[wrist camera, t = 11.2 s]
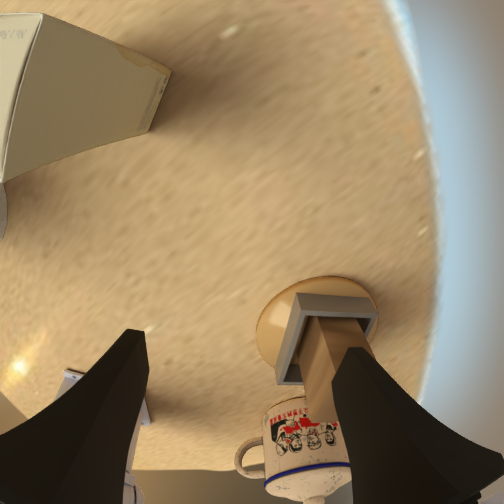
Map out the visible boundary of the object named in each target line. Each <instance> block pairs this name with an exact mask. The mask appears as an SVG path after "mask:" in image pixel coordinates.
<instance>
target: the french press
mask: <svg viewBox="0 0 504 504" xmlns="http://www.w3.org/2000/svg"><path fill="white" fill-rule="evenodd" d="M6 224H7V197H6V193H5V189H4V185H3V183H0V241H1V240H2V238H3V237H4V232H5V228H6Z"/></svg>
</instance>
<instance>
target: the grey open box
mask: <svg viewBox="0 0 504 504" xmlns="http://www.w3.org/2000/svg"><path fill="white" fill-rule="evenodd" d="M308 315H311V316H330V317H355V318H356V319H357V321H358V323H359V325H360V327H361V329H362V331H363V333H364V335H365V338H366V340H367V342H368V344H369V343H370V341H371V340H372V338H373V336H374V334H375V331H376V328H377V324H378V312H377V308H376V305H375V303H374V301H373V299H372V298H371V296H370V295H369V293H368V292H367V291H366V290H365V289H364V288H363V287H362V286H361V285H359V284H358V283H356V282H354V281H352V280H349V279H346V278H341V277H332V276H325V277H316V278H311V279H307V280H304V281H301V282H299V283H296V284H294V285H292V286H290V287H288V288H286V289H285V290H283V291H282V292H280V293H279V294H278V295H276V296H275V297H274V298H273V299H272V300H271V301H270V302H269V303H268V304H267V306H266V307H265V308H264V310H263V311H262V313H261V315H260V317H259V319H258V323H257V328H256V339H257V347H258V350H259V352H260V355H261V356H262V358H263V359H264V360H265V361H266V362H267V363H268V364H269V365H270V366H272V367H273V368H275V373H276V380H277V385H303V380H302V376H301V371H300V366H299V362H298V357H297V352H296V351H297V348H298V345H299V342H300V339H301V336H302V333H303V330H304V327H305V324H306V321H307V318H308Z"/></svg>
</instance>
